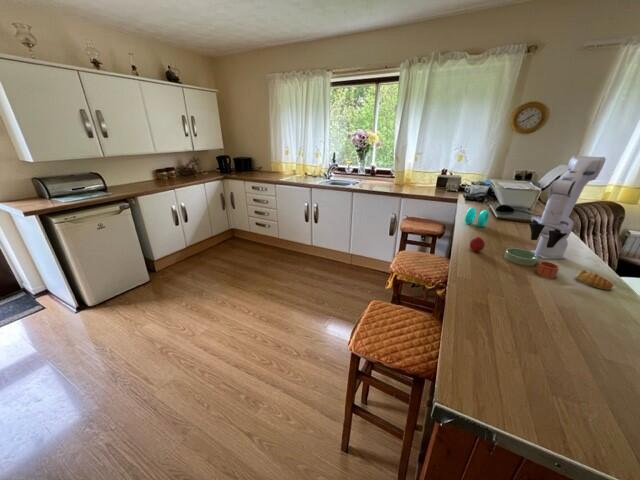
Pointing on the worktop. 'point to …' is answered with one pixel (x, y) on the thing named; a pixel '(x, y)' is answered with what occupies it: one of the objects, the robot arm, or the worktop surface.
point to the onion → (477, 244)
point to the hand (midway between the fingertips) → (541, 243)
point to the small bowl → (547, 269)
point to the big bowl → (521, 256)
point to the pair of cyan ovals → (481, 218)
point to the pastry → (593, 280)
